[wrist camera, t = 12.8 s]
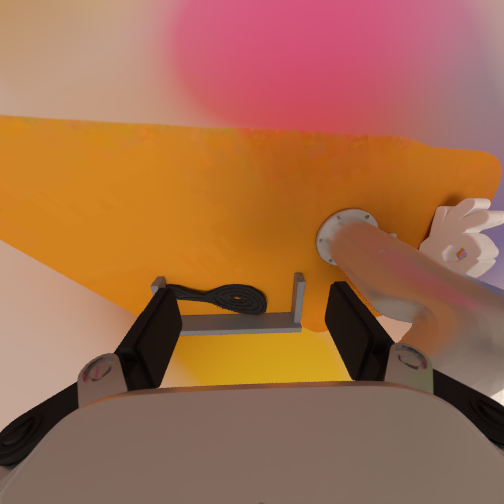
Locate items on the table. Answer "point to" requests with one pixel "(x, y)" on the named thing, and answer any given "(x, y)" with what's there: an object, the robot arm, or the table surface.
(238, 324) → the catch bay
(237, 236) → the table surface
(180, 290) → the hairbrush
